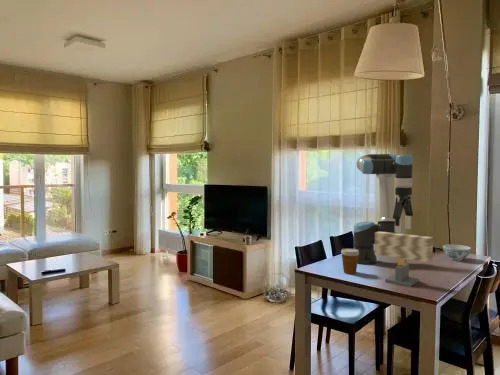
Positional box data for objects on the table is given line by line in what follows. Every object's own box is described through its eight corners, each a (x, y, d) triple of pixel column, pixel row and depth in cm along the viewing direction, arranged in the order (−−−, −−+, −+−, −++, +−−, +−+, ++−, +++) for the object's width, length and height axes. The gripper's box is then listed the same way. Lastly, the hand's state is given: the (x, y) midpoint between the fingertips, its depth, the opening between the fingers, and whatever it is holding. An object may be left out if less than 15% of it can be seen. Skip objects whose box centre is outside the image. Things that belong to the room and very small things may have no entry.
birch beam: (374, 254, 196) (374, 232, 195) (378, 252, 199) (378, 231, 199) (429, 262, 179) (429, 238, 178) (432, 260, 182) (432, 237, 182)
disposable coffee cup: (337, 272, 206) (337, 250, 206) (346, 269, 213) (347, 247, 213) (353, 276, 200) (353, 252, 199) (362, 272, 206) (362, 250, 206)
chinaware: (457, 256, 244) (457, 243, 243) (476, 261, 229) (477, 248, 229) (436, 257, 240) (437, 245, 240) (455, 263, 225) (456, 250, 225)
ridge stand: (385, 282, 189) (385, 257, 188) (394, 276, 198) (394, 253, 197) (410, 287, 181) (411, 261, 181) (418, 281, 190) (419, 256, 190)
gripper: (402, 188, 175) (401, 235, 177) (420, 186, 194) (419, 228, 196) (385, 187, 180) (385, 233, 182) (404, 185, 199) (403, 226, 200)
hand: (402, 230), depth 189 cm, fingers open, 13 cm apart
